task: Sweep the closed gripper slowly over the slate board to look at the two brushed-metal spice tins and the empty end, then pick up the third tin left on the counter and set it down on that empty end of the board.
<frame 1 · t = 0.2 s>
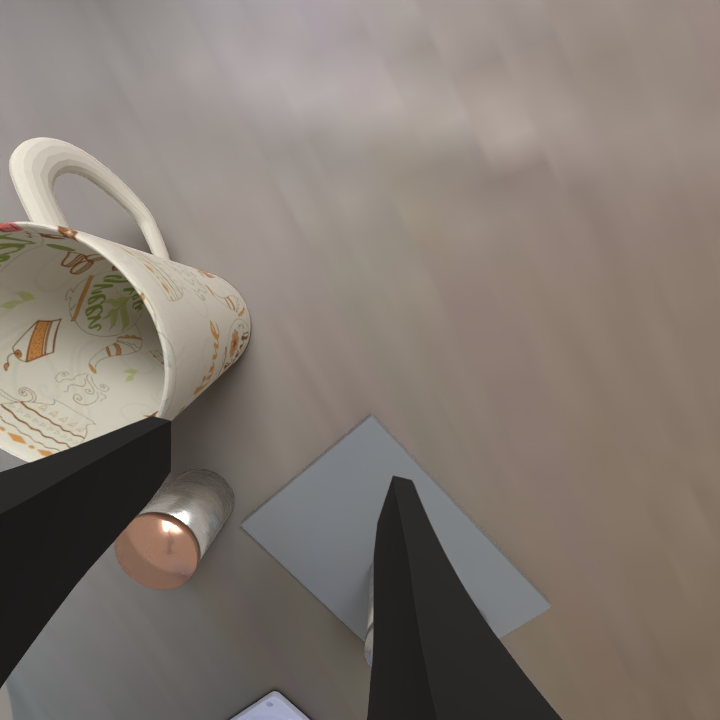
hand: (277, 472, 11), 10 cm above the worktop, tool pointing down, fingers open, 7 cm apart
slate board: (394, 558, 23), on the worktop
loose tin: (203, 497, 24), on the worktop
tin middle: (402, 573, 23), point 1 cm above the worktop, touching slate board
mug: (190, 289, 21), on the worktop
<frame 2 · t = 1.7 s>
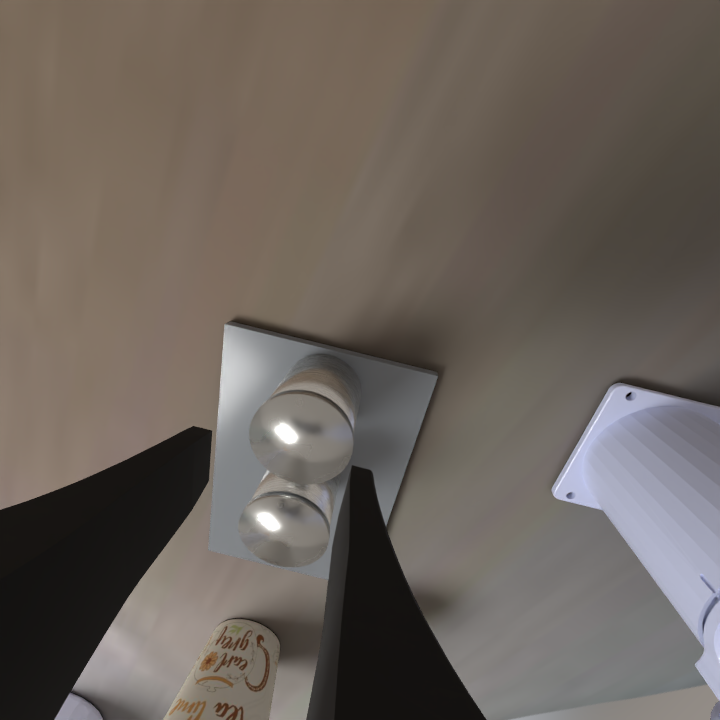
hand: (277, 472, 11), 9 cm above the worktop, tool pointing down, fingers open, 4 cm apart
slate board: (307, 470, 23), on the worktop
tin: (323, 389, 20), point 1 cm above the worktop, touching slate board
tin middle: (307, 467, 22), point 1 cm above the worktop, touching slate board
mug: (237, 647, 31), on the worktop
soap bottle: (68, 706, 38), on the worktop
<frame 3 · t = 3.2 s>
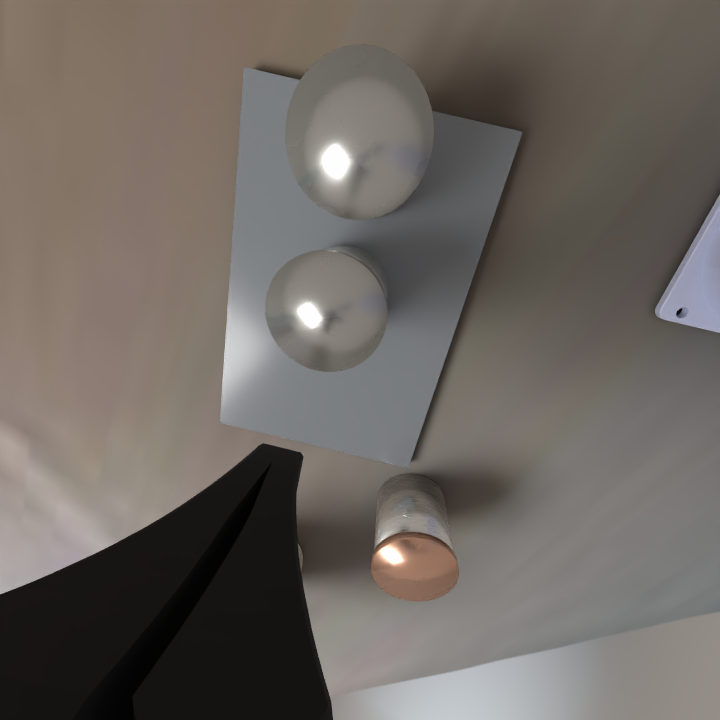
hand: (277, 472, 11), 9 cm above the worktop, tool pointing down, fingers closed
slate board: (343, 303, 18), on the worktop
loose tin: (410, 500, 23), on the worktop
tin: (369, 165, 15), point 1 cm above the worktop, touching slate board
tin middle: (344, 290, 17), point 1 cm above the worktop, touching slate board
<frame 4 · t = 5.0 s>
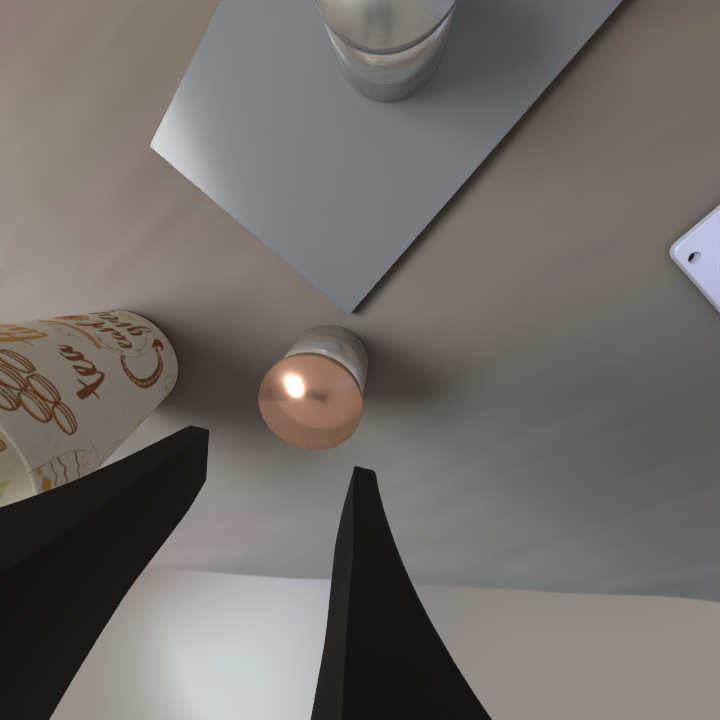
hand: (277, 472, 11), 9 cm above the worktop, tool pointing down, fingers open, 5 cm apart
slate board: (377, 62, 14), on the worktop
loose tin: (330, 362, 20), on the worktop
tin middle: (389, 35, 13), point 1 cm above the worktop, touching slate board
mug: (109, 369, 21), on the worktop
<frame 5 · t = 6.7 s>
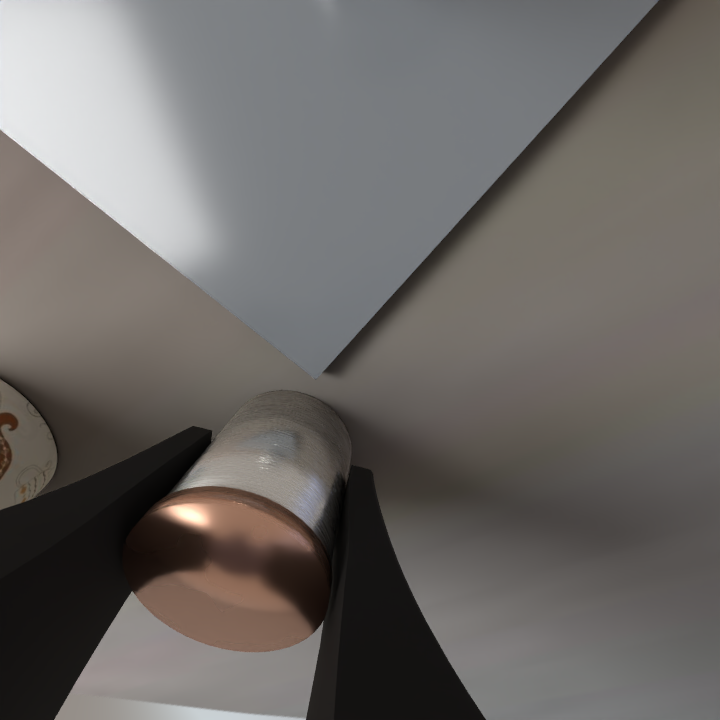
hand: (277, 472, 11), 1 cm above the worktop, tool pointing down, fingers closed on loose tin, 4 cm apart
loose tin: (290, 445, 12), on the worktop, touching gripper
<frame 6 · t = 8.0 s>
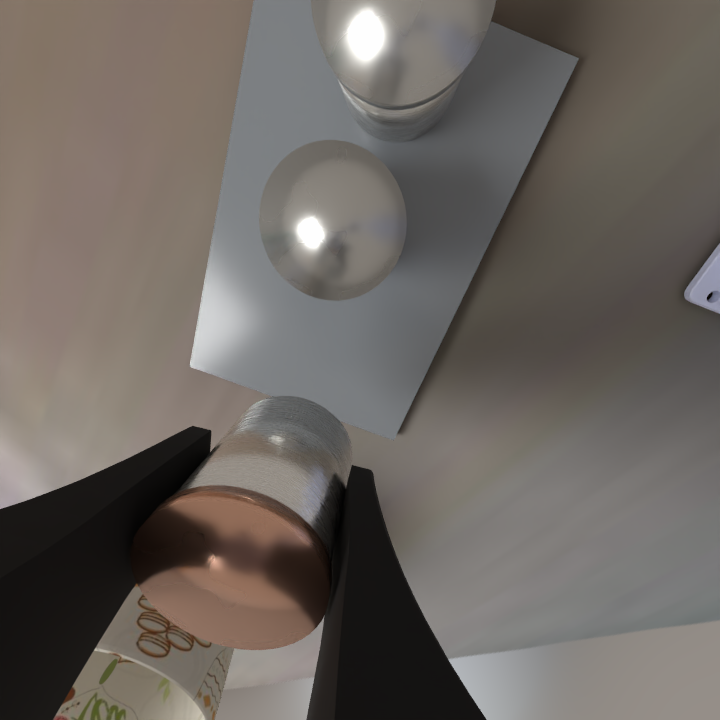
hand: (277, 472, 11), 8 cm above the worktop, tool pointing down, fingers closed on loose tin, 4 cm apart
slate board: (346, 242, 16), on the worktop
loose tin: (292, 449, 12), point 7 cm above the worktop, touching gripper
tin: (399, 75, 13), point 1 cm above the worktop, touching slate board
tin middle: (350, 225, 15), point 1 cm above the worktop, touching slate board
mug: (209, 531, 24), on the worktop
when the fingers open (3 cm above the worktop, at t = 9.7 s): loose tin stays where it is, resting on slate board.
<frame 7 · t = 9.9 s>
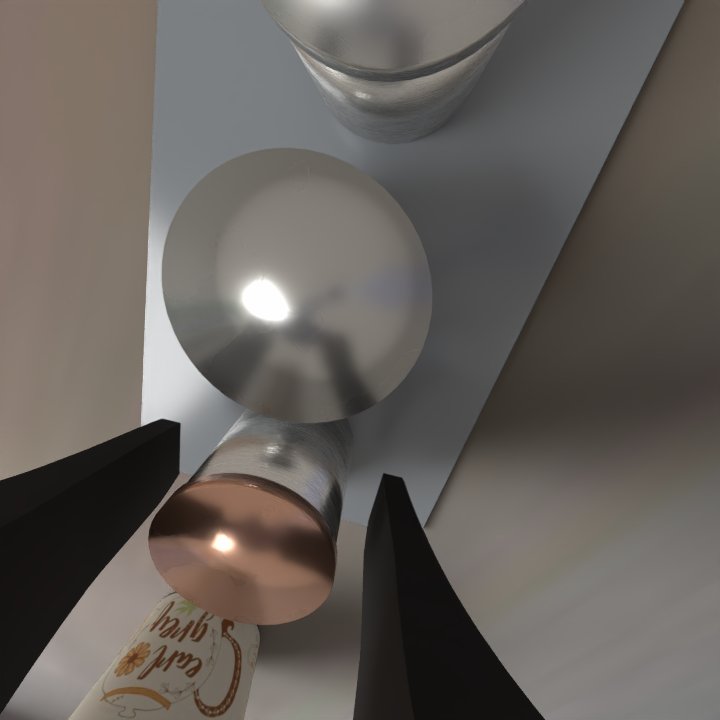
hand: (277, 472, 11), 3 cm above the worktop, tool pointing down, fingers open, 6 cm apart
slate board: (335, 290, 11), on the worktop
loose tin: (296, 440, 13), point 1 cm above the worktop, touching slate board
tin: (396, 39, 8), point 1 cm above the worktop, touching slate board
tin middle: (338, 269, 10), point 1 cm above the worktop, touching slate board
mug: (192, 638, 20), on the worktop
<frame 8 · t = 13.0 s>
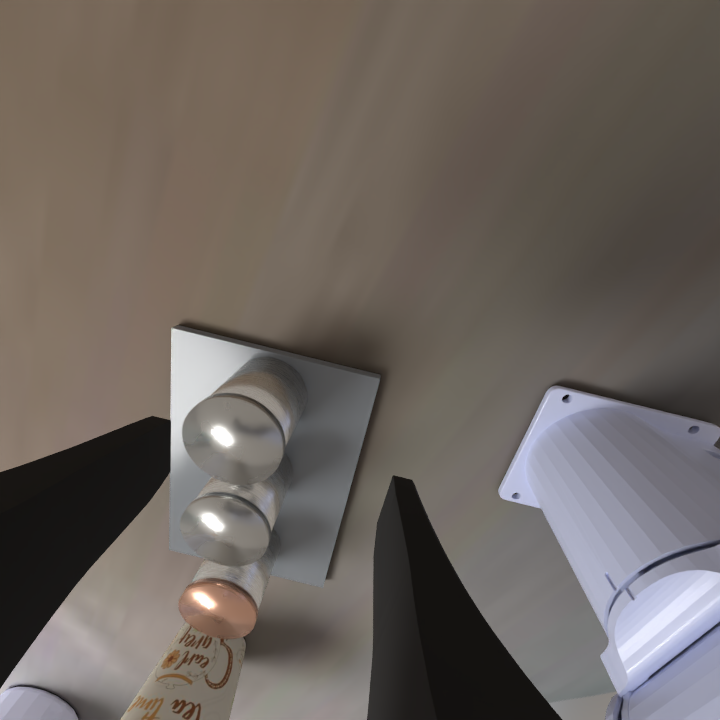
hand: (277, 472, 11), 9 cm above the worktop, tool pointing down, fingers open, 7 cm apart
slate board: (261, 471, 23), on the worktop
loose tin: (250, 539, 25), point 1 cm above the worktop, touching slate board
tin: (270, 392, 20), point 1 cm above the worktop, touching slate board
tin middle: (259, 468, 22), point 1 cm above the worktop, touching slate board
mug: (205, 646, 31), on the worktop
soap bottle: (44, 705, 39), on the worktop
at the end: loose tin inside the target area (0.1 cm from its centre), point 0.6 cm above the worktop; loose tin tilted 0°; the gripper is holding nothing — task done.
